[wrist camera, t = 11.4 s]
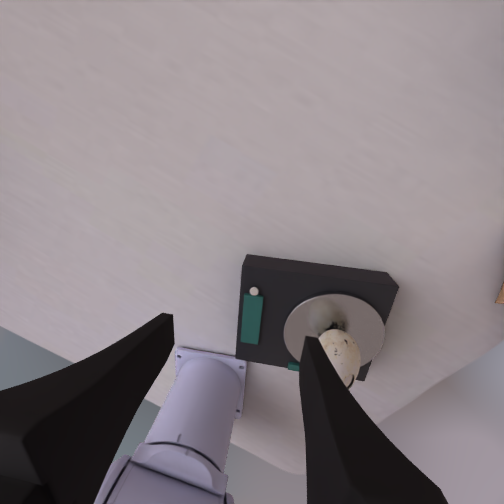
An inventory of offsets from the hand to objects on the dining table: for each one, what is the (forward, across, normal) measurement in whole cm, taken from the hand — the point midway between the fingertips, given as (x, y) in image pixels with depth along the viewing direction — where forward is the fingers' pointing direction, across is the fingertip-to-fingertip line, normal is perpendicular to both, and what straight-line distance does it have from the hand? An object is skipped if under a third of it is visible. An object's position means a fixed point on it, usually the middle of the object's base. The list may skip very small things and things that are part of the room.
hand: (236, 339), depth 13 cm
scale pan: (+7, -7, +4) cm, 11 cm away
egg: (+6, -7, +4) cm, 10 cm away
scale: (+9, -5, +4) cm, 11 cm away
